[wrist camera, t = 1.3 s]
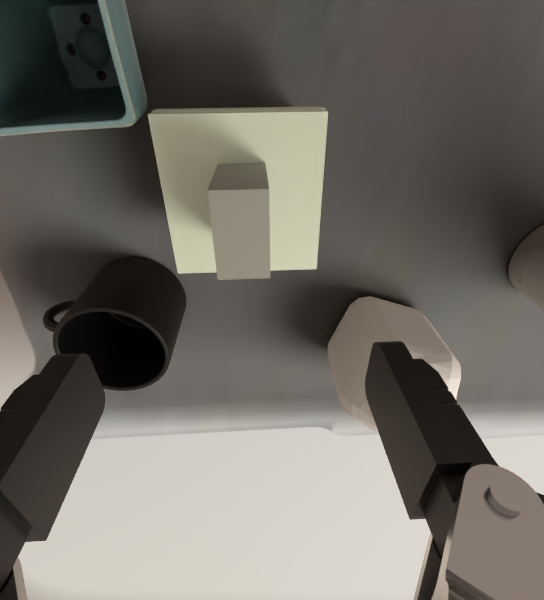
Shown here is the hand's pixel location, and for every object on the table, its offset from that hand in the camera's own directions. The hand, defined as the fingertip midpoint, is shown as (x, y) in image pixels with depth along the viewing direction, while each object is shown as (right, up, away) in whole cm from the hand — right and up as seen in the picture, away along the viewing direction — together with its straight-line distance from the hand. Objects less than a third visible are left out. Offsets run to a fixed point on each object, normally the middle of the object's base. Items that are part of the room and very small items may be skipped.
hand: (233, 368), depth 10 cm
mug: (-14, +3, +26) cm, 30 cm away
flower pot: (-12, +20, +14) cm, 27 cm away
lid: (-1, +10, +15) cm, 18 cm away
